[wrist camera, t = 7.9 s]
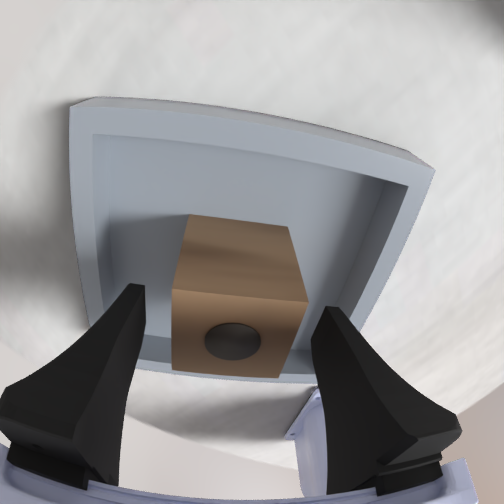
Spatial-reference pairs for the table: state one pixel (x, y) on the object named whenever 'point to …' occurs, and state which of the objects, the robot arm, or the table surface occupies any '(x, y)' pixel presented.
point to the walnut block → (235, 298)
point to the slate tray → (234, 207)
